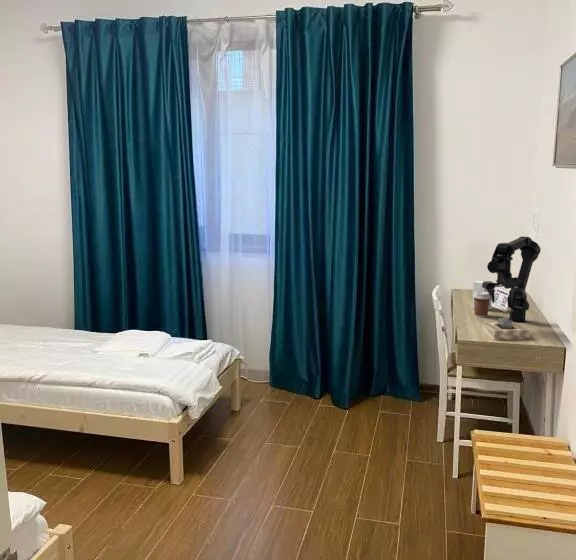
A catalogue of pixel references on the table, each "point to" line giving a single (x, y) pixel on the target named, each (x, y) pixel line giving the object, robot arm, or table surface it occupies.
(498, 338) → the well block
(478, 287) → the skincare box
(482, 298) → the coffee cup
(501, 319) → the bracket
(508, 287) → the robot arm
